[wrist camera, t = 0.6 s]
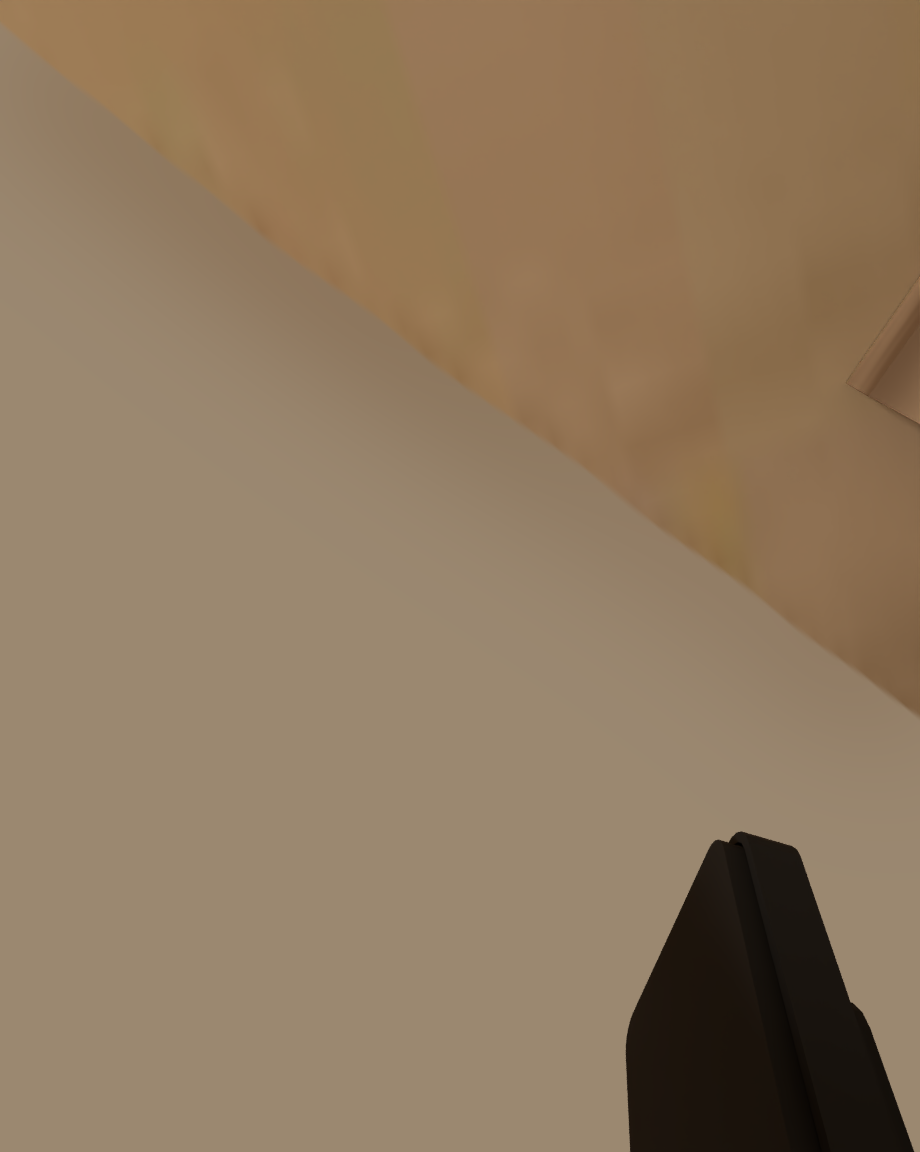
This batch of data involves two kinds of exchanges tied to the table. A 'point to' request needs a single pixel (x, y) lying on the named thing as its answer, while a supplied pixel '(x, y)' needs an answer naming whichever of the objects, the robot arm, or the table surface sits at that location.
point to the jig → (895, 361)
